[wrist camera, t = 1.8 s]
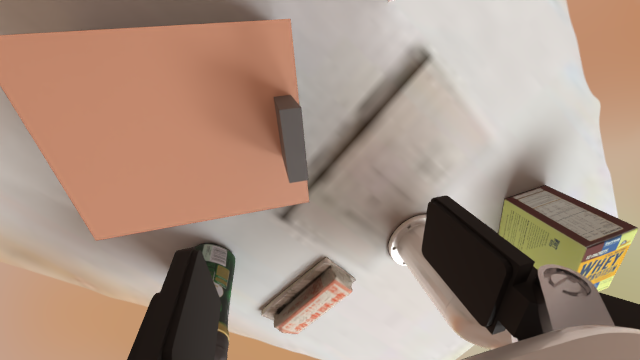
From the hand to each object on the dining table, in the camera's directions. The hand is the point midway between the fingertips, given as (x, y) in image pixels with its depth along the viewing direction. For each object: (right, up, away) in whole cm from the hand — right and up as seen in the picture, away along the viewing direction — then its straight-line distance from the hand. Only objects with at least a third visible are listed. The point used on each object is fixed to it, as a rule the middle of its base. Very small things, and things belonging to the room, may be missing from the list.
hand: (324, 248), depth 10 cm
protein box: (+45, -6, +48) cm, 66 cm away
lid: (-13, +7, +14) cm, 20 cm away
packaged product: (-3, -21, +43) cm, 48 cm away
